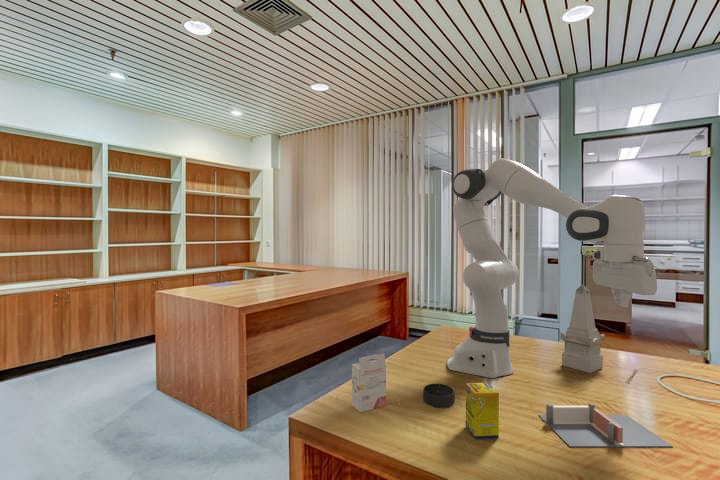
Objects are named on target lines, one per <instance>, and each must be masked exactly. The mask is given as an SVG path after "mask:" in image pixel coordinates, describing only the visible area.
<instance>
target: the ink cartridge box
mask: <svg viewBox="0 0 720 480" xmlns="http://www.w3.org/2000/svg"><path fill="white" fill-rule="evenodd" d="M372 359H373V360H372ZM358 360H359V361H358V363H352V364H351V396H352V398H351V400H352V401H351V402H352V407H353V408H354V409H356V410H357V411H358V412H360V413H362V412H367V411H370V410H375V409H379V408H382V407H385V406H387V374H386V373H387V367H386V366H387V365H386V354H385V353H379V354H372V355H367V356H363V357H359V358H358Z"/></svg>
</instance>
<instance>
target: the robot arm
mask: <svg viewBox="0 0 720 480" xmlns="http://www.w3.org/2000/svg"><path fill="white" fill-rule="evenodd" d="M451 183H452V184H451V189H452V192H453V193H454V195H456V196H457V198H459V199H458V200H457V201H456V202H455V203H454V205H453V208H452V211H453V216H454V221H455V225H456V228H457V231H458V233H459V236H460V238H461V241H462V245H463V248H464V249H465V251H466V252H467V253H469V254H470V255H471V256H472V257H473V258H474V260H475V261H473V262H472V263H469V264H468V265H467V266H466V267H465V268H464V270H463V273H462V280H463V283H464V285H465V286H466V287H467V288H468V289H469V291H470V293H471V295H472V299H473V303H474V312H475V315H474V319H475V321H474V322H475V326H473V325H471V326H469V328H468V331H469V337H468V338H467V339H465V340H463V341H462V342H461V343H459V344H458V345H457V346H456V347H455V349H454V352H453V356H451V357H449V358H448V360H447V363H446V367H447V368H448V369H449V370H450V371H454V372H458V373H465V374H470V375H474V376H479V377H484V378H491V379H496V378H498V377H501V376H502V377H503V376H509V375H511V374H513V373H514V369H513V365H512V360H511V356H510V345H511V334H510V330H509V308H508V306H507V305H506V304H505V302H504V300H503V296H502V290H503V289H504V290H505V289H508V288H510V287H511V286H512V285H514V284H515V283H517V282H518V279H519V278H520V271H519V268H518V266H517V265H516V263H514V262H513V261H512V260H510V258H509V257H508V256H507V254H506V253H505V252H504V251H503V249H502V247H501V246H500V245H499V242H497V239H496V238H495V235H494V233H493V230H492V228H491V226H490V223H489V221H488V219H487V216H486V214H485V210H484V207H486V206H487V207H488V206H489V205H491V204H492V203H493V202H494V201H495V200H497V199H498V198H500V196H501V195H502V194H503V195H505V196H507V197H508V198H509V199H511V200H513V201H514V202H515V201H516V202H517V203H520V204H523V205H525V206H531V207H538V208H542V209H547V210H551V211H553V212H555V213H557V214H559V215H561V216H563V218H565V219H566V221H565V230H566V232H567V234H568V236H570V238H572V239H574V240H576V241H579V242H584V243H585V242H586V243H587V242H588V243H597V244H598V243H600V244H603V247H602V248H599V249H597V250H595V251H594V252H592V259H593V260H594V261H593V263H592V280H593V282H594V284H595V285H598V286H604V287H606V288H607V287H608V288H611V293H612V296H613V299H614V305H615V306H617V307H621V308H628V307H629V303H630V302H629V301H630V300H631V298H632V297H633V294H637V295H640V296H655V295H656V293H657V292H658V280H657V272H656V268H655V267H654V263H653V262H652V260H650V258H649V257H644V254H645V241H644V239H643V238H644V237H643V236H644V231H645V228H646V227H645V226H646V215H645V206H644V203H643V201H642V200H641V199H639V198H638V197H635V196H629V195H622V194H621V195H619V194H612V195H609V196H607V198H605V199H604V200H601V201H599V202H597V203H596V204H594V205H587V204H585V203H584V202H581V201H580V200H578V199H575V198H574V197H572V196H570V195H569V194H567V193H565V192H563V191H562V190H561V189H559V188H557V187H556V186H555V185H553V184H552V183H551V182H549V181H548V180H546V178H544V177H543V176H541V175H540V174H538V173H537V172H535V170H533V169H531V168H529V167H528V166H526V165H524V164H521V163H520V162H518V161H515V160H511V159H510V158H505V157H504V158H502V157H501V158H498V159H496V160H494V161H493V162H492V163H491V165H489V167H488V169H485V170H482V169H481V168H470V169H464V170H461V171H459V172H457V173H456V174H455V175H454V177H453V180H452V182H451Z"/></svg>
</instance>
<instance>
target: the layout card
mask: <svg viewBox="0 0 720 480" xmlns="http://www.w3.org/2000/svg"><path fill="white" fill-rule="evenodd" d="M605 415H606V416H608V417H609V418H610V419H612V420H613V421H614V422H616V423H617V424H619V425H620V426H621V427H623V443H617V442H616V441H615V440H614V444H611V443H609V442H608V435H607V434H606V433H605V432H604V431H602V430H601V429H600V428H599V427H598V426H596V425H595V424H594V423H590V422H589V423H553V424H549V423H547V422H546V414H538V417H539V418H540V419H541V420H542V421H543V422H544V423H545V424H546V425H547V426H548V427H549V428H550V429H551V430H552V431H553V432H554V433H555V434H556V436H558V437H559V438H560V439H561V440H562V441H563V442H564V443H565V444H566V445H567V446H568V447H569V448H674V446H673V445H672V444H670V443H669V442H667V441H666V440H665V439H663V438H661V437H660V436H659V435H657V434H656V433H654V432H652V431H651V430H649V429H648V428H647V427H645V426H643V425H642V424H640V423H639V422H638V421H636V420H635V419H633V418H631V417H630V416H629V415H628V414H605Z"/></svg>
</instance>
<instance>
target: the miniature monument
mask: <svg viewBox="0 0 720 480" xmlns="http://www.w3.org/2000/svg"><path fill="white" fill-rule="evenodd" d="M573 298H574V300H573V303H572V304H573V305H572V310H571V315H570V322H569V327H567V328H566V331H565V332H564V333H563V332H561V331H560V334H559V335H560V336H559V337H560V338H559V339H560V340H562V341H564V351H563V352H562V354H561V365H562V366H563V367H567V368H571V369H574V370H578V371H581V372H585V373H588V374H592V373H594V372H596V371H599V370H601V369H603V368H604V367H603V365H604V364H603V363H604V362H603V361H604V356H603V354H602V353H601V343H604V342H605V341H606V335H605V334H604V333H601V334H600V332H599V330H598V328H596V323H595V321H596V320H595V317H594V311H593V304H592V298H591V294H590V289H589V288H588V287H586V286H585V284H581V285H580V286H579V287H578V288H576V289H575V294H574V297H573Z"/></svg>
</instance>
